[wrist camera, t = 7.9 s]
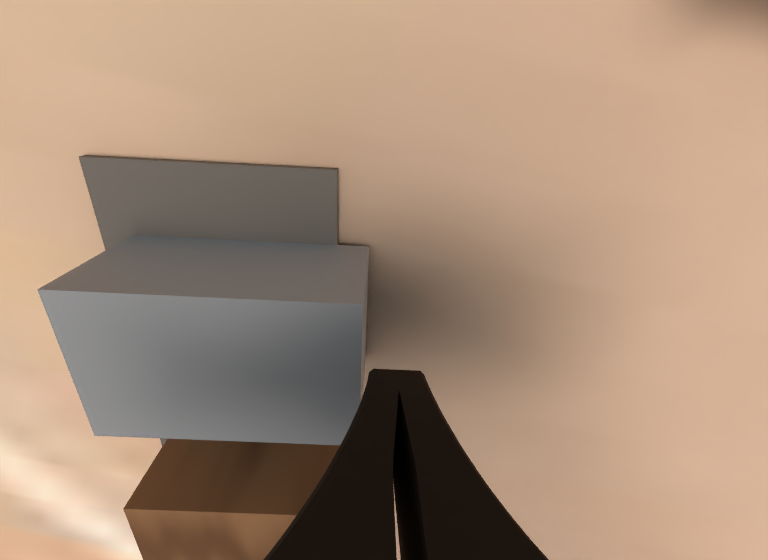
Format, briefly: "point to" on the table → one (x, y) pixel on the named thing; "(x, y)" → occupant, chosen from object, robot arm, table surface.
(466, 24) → the table surface
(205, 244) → the slate block
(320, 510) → the robot arm
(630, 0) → the table surface
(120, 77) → the table surface
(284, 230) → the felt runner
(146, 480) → the walnut block
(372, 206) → the table surface
